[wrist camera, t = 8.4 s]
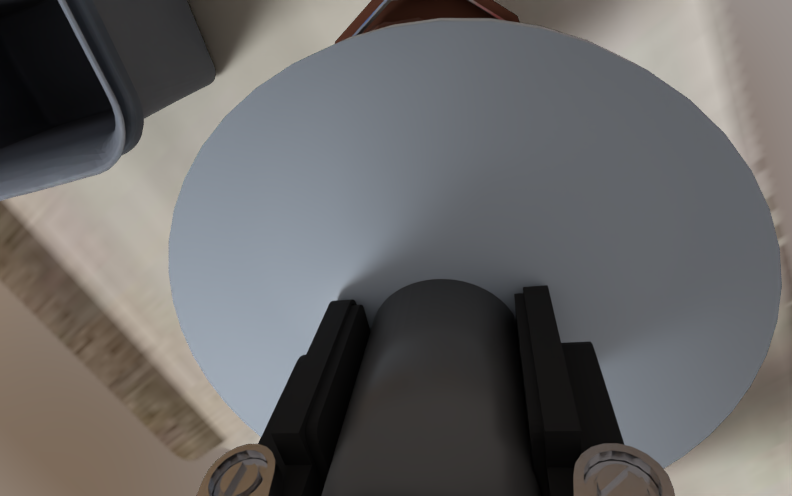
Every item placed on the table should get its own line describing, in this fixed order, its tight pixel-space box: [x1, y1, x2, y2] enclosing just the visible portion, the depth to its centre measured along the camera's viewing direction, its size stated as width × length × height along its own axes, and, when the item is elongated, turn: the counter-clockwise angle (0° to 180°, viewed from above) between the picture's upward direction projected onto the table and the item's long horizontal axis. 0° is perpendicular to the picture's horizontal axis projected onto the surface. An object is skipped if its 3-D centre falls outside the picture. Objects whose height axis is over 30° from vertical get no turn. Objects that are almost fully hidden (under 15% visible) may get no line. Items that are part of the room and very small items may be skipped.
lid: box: [169, 18, 782, 496], centre depth 10 cm, size 14×14×6 cm
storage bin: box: [0, 0, 216, 201], centre depth 29 cm, size 21×16×14 cm
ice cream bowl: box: [335, 0, 520, 44], centre depth 26 cm, size 11×11×15 cm
